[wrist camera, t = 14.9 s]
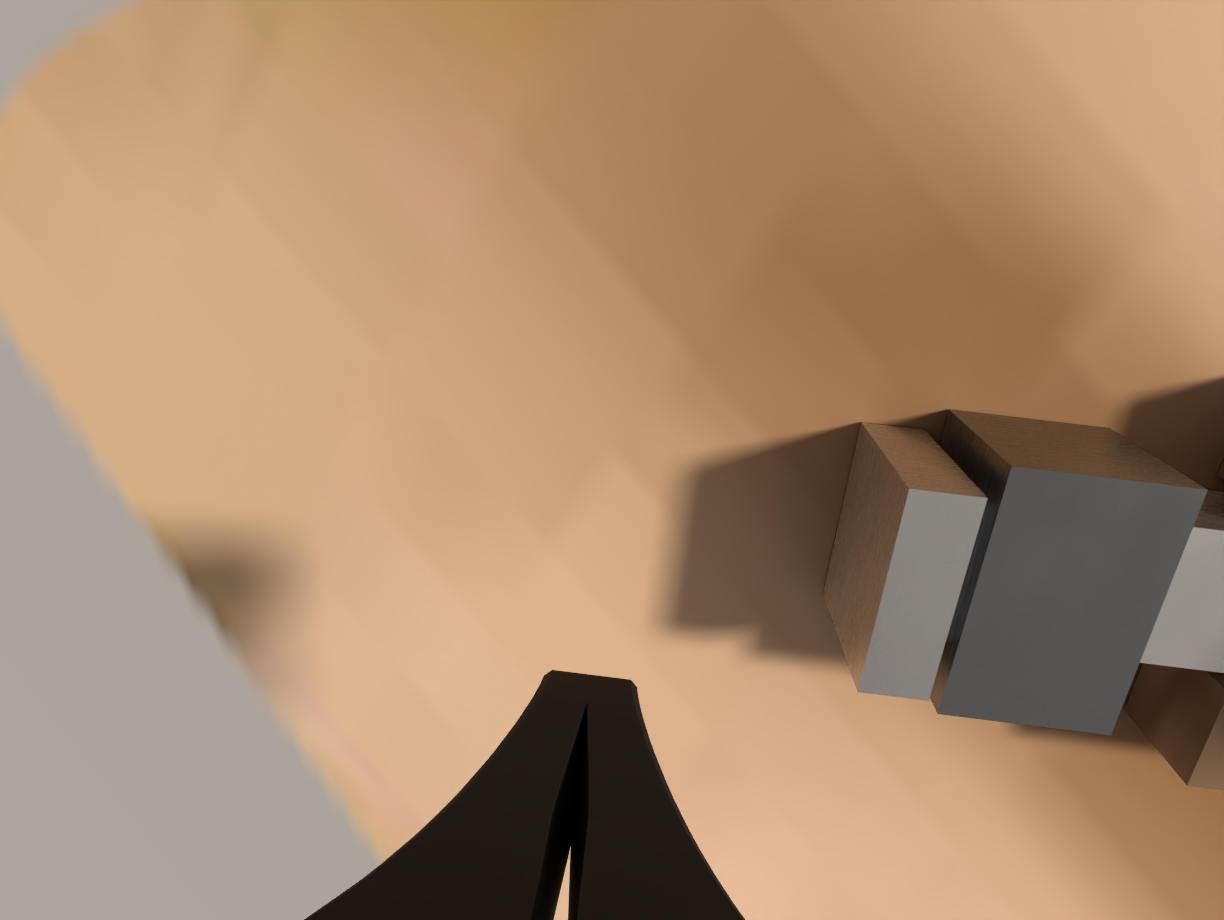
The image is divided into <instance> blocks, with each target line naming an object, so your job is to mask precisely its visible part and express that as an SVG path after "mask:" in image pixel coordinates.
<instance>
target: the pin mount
mask: <svg viewBox="0 0 1224 920" xmlns="http://www.w3.org/2000/svg"><path fill="white" fill-rule="evenodd" d="M940 447H941V448H942V449H943V450H944V451H945V453H946V454H947V455H948V456H949V457H950V458H951V459H952V460H953V461H954V462H955V463H956V464H957V465H958V467H959V468H960V469H961V470H962V471H963V472H964V473H965V474H966V475H967V476H968V477H969V478H970V479H971V481H972V482H973V483H974V484H975V485H976V486H977V487H978V488H979V489H980V490H981V491H982V492H983V493H984V495H985V496H986V497H987V498H988V499H987V502H986V506H985V509H984V513H983V516H982V520H981V523H980V526H979V530H978V533H977V537H976V540H975V544H974V547H973V550H972V554H971V557H970V561H969V564H968V567H967V571H966V574H965V578H964V581H963V585H962V588H961V591H960V595H959V598H958V602H957V605H956V609H955V612H954V615H953V619H952V622H951V626H950V629H949V633H948V636H947V639H946V643H945V646H944V650H943V653H942V657H941V660H940V663H939V667H938V670H937V674H936V677H935V681H934V684H933V687H932V691H931V694H930V699H931V701H932V703H933V705H934V707H935V709H936V711H937V713H938V714H943V715H951V716H959V717H967V718H975V719H983V720H991V721H999V722H1007V723H1015V724H1023V725H1031V726H1039V727H1047V728H1055V729H1063V730H1071V731H1079V732H1087V733H1095V734H1103V735H1111V734H1112V732H1113V729H1114V727H1115V724H1116V721H1117V719H1118V716H1119V714H1120V711H1121V709H1122V706H1123V704H1124V701H1125V699H1126V696H1127V694H1128V691H1129V688H1130V686H1131V683H1132V681H1133V678H1134V676H1135V673H1136V671H1137V668H1138V666H1139V663H1140V661H1141V658H1142V656H1143V653H1144V650H1145V648H1146V645H1147V643H1148V640H1149V638H1150V635H1151V633H1152V630H1153V628H1154V625H1155V623H1156V620H1157V617H1158V615H1159V612H1160V610H1161V607H1162V605H1163V602H1164V600H1165V597H1166V595H1167V592H1168V590H1169V587H1170V584H1171V582H1172V579H1173V577H1174V574H1175V572H1176V569H1177V567H1178V564H1179V562H1180V559H1181V557H1182V554H1183V552H1184V549H1185V546H1186V544H1187V541H1188V539H1189V536H1190V534H1191V531H1192V529H1193V526H1194V524H1195V521H1196V519H1197V516H1198V513H1199V511H1200V508H1201V506H1202V503H1203V501H1204V498H1205V496H1206V493H1207V491H1208V490H1207V489H1206V488H1204V487H1203V486H1201V485H1199V484H1198V483H1196V482H1195V481H1193V480H1191V479H1190V478H1188V477H1187V476H1185V475H1183V474H1182V473H1180V472H1179V471H1177V470H1175V469H1174V468H1172V467H1171V466H1169V465H1167V464H1166V463H1164V462H1163V461H1161V460H1159V459H1158V458H1156V457H1155V456H1153V455H1151V454H1150V453H1148V452H1147V451H1145V450H1143V449H1142V448H1140V447H1139V446H1137V445H1135V444H1134V443H1132V442H1131V441H1129V440H1127V439H1126V438H1124V437H1123V436H1121V435H1119V434H1118V433H1116V432H1115V431H1113V430H1111V429H1110V428H1103V427H1094V426H1086V425H1077V424H1069V423H1060V422H1052V421H1043V420H1035V419H1026V418H1018V417H1009V416H1001V415H992V414H984V413H975V412H967V411H958V410H950V409H949V411H948V415H947V419H946V423H945V427H944V431H943V434H942V438H941V442H940Z"/></svg>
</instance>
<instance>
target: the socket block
mask: <svg viewBox="0 0 1224 920" xmlns="http://www.w3.org/2000/svg"><path fill="white" fill-rule="evenodd" d="M1217 476H1218V477H1220V478H1222V479H1223V480H1224V460H1223V462H1222V465H1221V467H1220V470H1219V472H1218V475H1217ZM1125 711H1126V712H1127V713H1128V714H1129V716H1130V717H1131V718H1132V719H1133V720H1134V722H1135V723H1136V724H1137V725H1138V726H1139V728H1140V729H1141V730H1142V731H1143V733H1144V734H1145V735H1146V736H1147V737H1148V739H1149V740H1150V741H1151V742H1152V744H1153V745H1154V746H1155V747H1156V748H1157V750H1158V751H1159V752H1160V753H1161V754H1162V756H1163V757H1164V758H1165V759H1166V761H1167V762H1168V763H1169V764H1170V765H1171V767H1172V768H1173V769H1174V770H1175V771H1176V773H1177V774H1178V775H1179V776H1180V778H1181V779H1182V780H1183V781H1184V782H1185V784H1186V785H1187V786H1195V787H1203V788H1211V789H1219V790H1224V673H1220V672H1211V671H1203V670H1195V669H1187V668H1179V667H1171V666H1163V665H1155V664H1146V663H1143V664H1142V667H1141V669H1140V672H1139V674H1138V677H1137V679H1136V682H1135V684H1134V687H1133V689H1132V692H1131V694H1130V697H1129V699H1128V702H1127V705H1126V707H1125Z"/></svg>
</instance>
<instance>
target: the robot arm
mask: <svg viewBox="0 0 1224 920" xmlns="http://www.w3.org/2000/svg"><path fill="white" fill-rule="evenodd" d="M570 846H571V857H570V884H569V913H568V920H745V919H744V917H743V916H742V915H741V913H740V912H739V911H738V909H737V908H736V906H735V905H734V903H733V902H732V900H731V899H730V897H729V896H728V894H727V893H726V891H725V890H724V888H723V887H722V885H721V884H720V882H719V881H718V879H717V878H716V876H715V874H714V873H713V871H712V869H711V868H710V866H709V864H708V863H707V861H706V859H705V858H704V856H703V854H702V853H701V851H700V849H699V847H698V846H697V844H696V842H695V840H694V838H693V836H692V835H691V833H690V831H689V829H688V827H687V825H686V823H685V821H684V819H683V817H682V815H681V813H680V811H679V809H678V807H677V805H676V803H675V801H674V799H673V796H672V794H671V792H670V790H669V787H668V785H667V783H666V780H665V778H664V775H663V773H662V771H661V768H660V766H659V763H658V761H657V758H656V756H655V753H654V750H653V748H652V745H651V742H650V739H649V736H648V733H647V730H646V727H645V723H644V720H643V716H642V713H641V708H640V704H639V699H638V693H637V687H636V686H635V684H634V683H633V682H632V681H631V680H627V679H619V678H611V677H603V676H595V675H587V674H579V673H571V672H563V671H555V670H552V671H550V672H549V673H547V674H546V675H544V677H543V679H542V682H541V684H540V686H539V687H538V689H537V691H536V693H535V695H534V696H533V698H532V700H531V701H530V703H529V704H528V706H527V707H526V709H525V710H524V712H523V713H522V715H521V716H520V718H519V719H518V721H517V722H516V724H515V725H514V726H513V728H512V729H511V730H510V732H509V733H508V734H507V736H506V737H505V738H504V740H503V741H502V742H501V743H500V745H499V746H498V747H497V749H496V750H495V751H494V753H493V754H492V755H491V756H490V758H489V759H488V760H487V761H486V762H485V763H484V765H483V766H482V767H481V768H480V769H479V770H478V771H477V773H476V774H475V775H474V776H473V777H472V778H471V779H470V781H469V782H468V783H467V784H466V785H465V786H464V787H463V789H462V790H461V791H460V792H459V793H458V794H457V795H456V796H455V797H454V798H453V799H452V800H451V801H450V802H449V803H448V804H447V805H446V806H445V807H444V808H443V809H442V810H441V811H440V812H439V813H438V814H437V815H436V816H435V817H434V818H433V819H432V820H431V821H430V822H429V823H428V824H427V825H426V826H425V827H424V828H423V829H421V830H420V831H419V832H418V833H417V834H416V835H415V836H414V837H413V838H411V839H410V840H409V841H408V842H407V843H406V844H404V845H403V846H402V847H401V848H400V849H399V850H397V851H396V852H395V853H394V854H393V855H392V856H390V857H389V858H388V859H387V860H386V861H384V862H383V863H382V864H381V865H379V866H378V867H377V868H376V869H374V870H373V871H372V872H371V873H369V874H368V875H367V876H366V877H364V878H363V879H362V880H360V881H359V882H358V883H356V884H355V885H353V886H352V887H350V888H349V889H347V890H346V891H345V892H343V893H342V894H340V895H339V896H338V897H336V898H335V899H333V900H332V901H330V902H329V903H328V904H326V905H325V906H323V907H322V908H320V909H319V910H318V911H316V912H315V913H313V914H312V915H310V916H309V917H307V918H306V919H304V920H553V919H554V915H555V910H556V906H557V902H558V898H559V893H560V889H561V885H562V881H563V876H564V872H565V868H566V863H567V859H568V855H569V850H570Z"/></svg>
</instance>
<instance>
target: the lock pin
mask: <svg viewBox="0 0 1224 920" xmlns="http://www.w3.org/2000/svg"><path fill="white" fill-rule="evenodd" d="M987 499H988V498H987V497H986V496H985V495H984V493H983V492H982V491H981V490H980V489H979V488H978V487H977V486H976V485H975V484H974V483H973V482H972V481H971V479H970V478H969V477H968V476H967V475H966V474H965V473H964V472H963V471H962V470H961V469H960V468H959V467H958V465H957V464H956V463H955V462H954V461H953V460H952V459H951V458H950V457H949V456H948V455H947V454H946V453H945V451H944V450H943V449H942V448H941V447H940V446H939V445H938V444H937V443H936V442H935V441H934V440H933V439H932V437H931V436H930V435H929V434H928V433H927V432H926V431H925V430H923V429H914V428H906V427H897V426H889V425H880V424H872V423H863V422H861V426H860V430H859V435H858V439H857V443H856V448H855V452H854V457H853V461H852V466H851V470H850V475H849V479H848V484H847V488H846V493H845V497H844V502H843V506H842V510H841V515H840V519H839V524H838V528H837V533H836V537H835V542H834V546H833V551H832V555H831V560H830V564H829V569H828V573H827V577H826V582H825V586H824V591H823V596H824V598H825V601H826V604H827V607H828V610H829V613H830V615H831V618H832V621H833V624H834V627H835V629H836V632H837V635H838V638H839V641H840V644H841V646H842V649H843V652H844V655H845V658H846V660H847V663H848V666H849V669H850V672H851V674H852V677H853V680H854V683H855V686H856V689H857V691H858V692H863V693H871V694H879V695H887V696H895V697H903V698H911V699H919V700H927V701H929V698H930V694H931V691H932V687H933V684H934V681H935V677H936V674H937V670H938V667H939V663H940V660H941V657H942V653H943V650H944V646H945V643H946V639H947V636H948V633H949V629H950V626H951V622H952V619H953V615H954V612H955V609H956V605H957V602H958V598H959V595H960V591H961V588H962V585H963V581H964V578H965V574H966V571H967V567H968V564H969V561H970V557H971V554H972V550H973V547H974V544H975V540H976V537H977V533H978V530H979V526H980V523H981V520H982V516H983V513H984V509H985V506H986V502H987ZM1140 663H1146V664H1155V665H1163V666H1171V667H1179V668H1187V669H1195V670H1203V671H1211V672H1220V673H1224V492H1222V491H1213V490H1208V491H1207V493H1206V496H1205V498H1204V501H1203V503H1202V506H1201V508H1200V511H1199V513H1198V516H1197V519H1196V521H1195V524H1194V526H1193V529H1192V531H1191V534H1190V536H1189V539H1188V541H1187V544H1186V546H1185V549H1184V552H1183V554H1182V557H1181V559H1180V562H1179V564H1178V567H1177V569H1176V572H1175V574H1174V577H1173V579H1172V582H1171V584H1170V587H1169V590H1168V592H1167V595H1166V597H1165V600H1164V602H1163V605H1162V607H1161V610H1160V612H1159V615H1158V617H1157V620H1156V623H1155V625H1154V628H1153V630H1152V633H1151V635H1150V638H1149V640H1148V643H1147V645H1146V648H1145V650H1144V653H1143V656H1142V658H1141V661H1140Z"/></svg>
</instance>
